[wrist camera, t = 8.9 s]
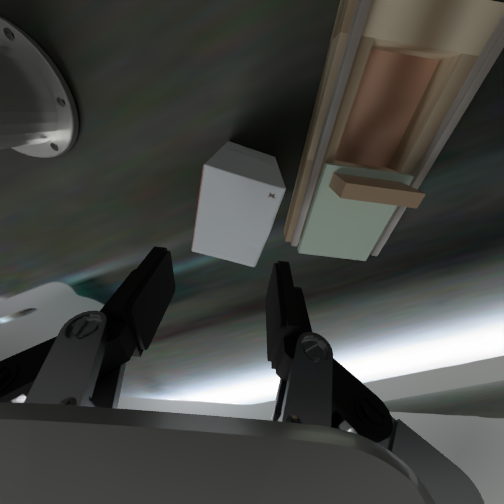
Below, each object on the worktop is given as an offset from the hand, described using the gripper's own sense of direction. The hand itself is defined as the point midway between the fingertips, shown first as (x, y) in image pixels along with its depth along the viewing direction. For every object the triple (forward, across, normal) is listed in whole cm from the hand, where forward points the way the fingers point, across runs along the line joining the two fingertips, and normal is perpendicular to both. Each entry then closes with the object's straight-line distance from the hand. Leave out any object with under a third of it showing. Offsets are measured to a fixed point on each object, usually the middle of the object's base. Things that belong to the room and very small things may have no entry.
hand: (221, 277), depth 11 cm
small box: (+20, 0, 0) cm, 20 cm away
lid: (+16, -14, +2) cm, 22 cm away
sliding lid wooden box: (+19, -14, -5) cm, 25 cm away
